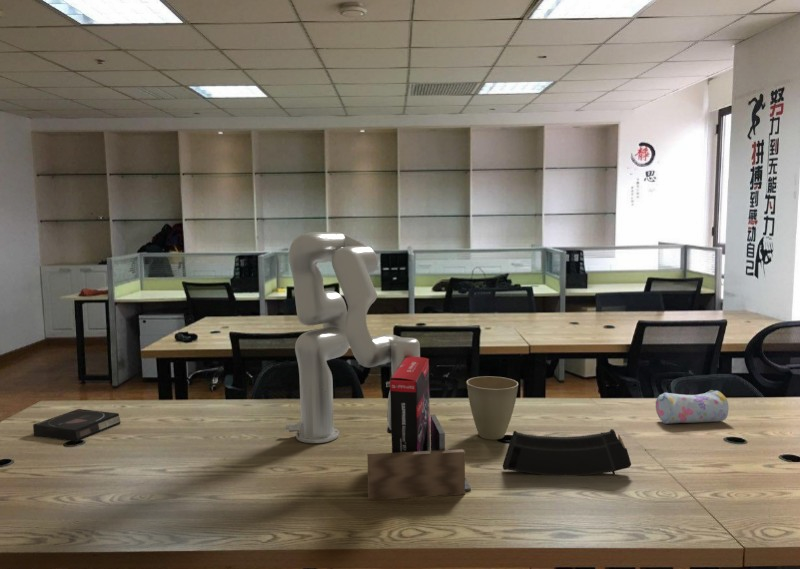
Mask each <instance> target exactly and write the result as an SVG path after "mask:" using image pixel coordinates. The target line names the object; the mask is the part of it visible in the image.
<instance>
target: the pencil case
mask: <svg viewBox="0 0 800 569" xmlns="http://www.w3.org/2000/svg"><path fill="white" fill-rule="evenodd" d="M655 410H656V415H657V417H658V419H659V420H660V421H661V422H662V423H663V424H664V425H667V424H668V425H671V424H678V423H683V424H684V423H685V424H686V423H688V424H689V423H690V424H691V423H694V424H695V423H708V422H716V423H717V422H723V421H725V420H726V419H727V418H728V415H729V402H728V399H727V397H726V396H725V395H724V394H723V393H722V392H721V391H720V390H713V389H710V390H709V391H707V392H705V393H699V394H680V393H673V392H663V393H661V394H659V396H658V397H657V398H656V400H655Z"/></svg>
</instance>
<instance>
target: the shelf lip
mask: <svg viewBox="0 0 800 569" xmlns="http://www.w3.org/2000/svg"><path fill="white" fill-rule="evenodd" d="M465 478H466V452H465V449H462V448H461V449H448V450H447V449H445V450H440V451H431V450H430V451H419V452H399V453H392V452H383V453H382V452H381V453H380V452H379V453H367V496H368V498H367V499H368V501H369V500H370V501H374V500H387V499H389V500H391V499H408V498H410V499H411V498H423V497H439V496H438V495H447V496H462V495H461V494H464V495H466V491H465ZM459 494H460V495H459Z"/></svg>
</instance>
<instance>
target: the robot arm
mask: <svg viewBox="0 0 800 569" xmlns="http://www.w3.org/2000/svg"><path fill="white" fill-rule="evenodd" d="M378 259H379V258H378V256H377V253H376V252H375V250H374V249H373V248H371V247H370V246H369V245H367V244H365V243H364V242H361V241H359V240H357V239H355V238H353V237H352V236H349V235H348V234H346V233H343V232H337V231H327V232H326V231H310V232H306V233H303V234H300V235H298V236H297V237H295V238H294V240H292V243H291V244H290V246H289V249H288V261H289V267H290V271H291V275H292V281H293V291H294V299H295V307H296V310H295V311H296V315H297V319H298V321H299V323H300V324H302V325H304V326H309V327H310V326H312V327H313V326H316V325H322V328H317V329H313V330H308V331H305V332H303V333H302V334H300V335H299V336H298V338H297V339H296V342H295V344H294V345H295V346H294V352H295V356H296V360H297V365H298V374H299V375H298V376H299V398H300V399H299V400H300V402H299V403H300V405H299V406H300V420H299V421H297V422H296V423H290V422H288V423H285V431H288V432H289V433H294V432H296V433H295V439H296V440H297V441H299V442H302V443H305V444H321V443H328V442H331V441H334V440H336V439H338V437H339V436H340V431H339V429H338V428H336V427H334V422H335V421H334V388H333V386H334V385H333V383H334V382H333V374H332V371H331V369H330V367H329V365H328V362H327V361H330V360H333V359H336V358H337V359H338V358H340V357H342V356H344V355H345V354H347V352H348V351H349V348H350V350H351V352H352V354H353V357H354V358H355V359H356V362H357V363H358V364H359V365H361V366H363V367H364V368H373V367H378V366H380V365H383V364H387V363H391V365H390V366H391V376H392V375H393V373H394V372H395V370H396V369H397V367H398V366H399V365H400V363H401V362H402V360H403V359H404V357H405V356H412V357H421V344H420V341H419V340H418V339H417V338H415V337H402V336H398V335H396V334H390V333H386V334H381V335H376V336H371V334H370V331H369V328H368V323H367V315H368V311H369V309H370V307H371V306H372V304H374V303H375V301H376V300H377V298H378V293H377V290H376V288H375V286H374V284H373V281H372V279H371V275H372V274H373V273H375V272H376V271H377V269H378V265H379V260H378ZM321 262H322V263H323V262H331V266H332V269H333V271H334V274H335V277H336V279H337V281H338V284H339V286H340V288H341V292H342V294H343V296H342V295H341V294H340V293H338V291H334V290H325V288H324V279H323V274H322V272H321V270H320V269H319V267H318V265H316V264H317V263H321ZM343 297H344V298H343ZM345 301H346V302H345ZM346 304H347V305H346ZM385 384H386V386H385V387H386V388H390V380H389V381H386V382H385ZM388 392H389V393H388V399H387V411H386V412H387V415H386V416H387V417H386V418H387V425H386V432H387V433H388V434H390V435H391V397H390V391H388Z"/></svg>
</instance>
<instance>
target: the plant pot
mask: <svg viewBox="0 0 800 569" xmlns="http://www.w3.org/2000/svg"><path fill="white" fill-rule="evenodd" d="M466 389H467V396H468V402H469V407H470V410H471V415H472V419H473V422H474V425H475V429H476V431H477V434H478V437H479V438H482V439H486V440H490V441H491V440H493V441H494V440H501V439H504V437H505V436H506V433H507V430H508V428H509V425H510V422H511V419H512V416H513V412H514V408H515V404H516V400H517V395H518V390H519V382H518V381H516V380H515V379H512V378H508V377H502V376H488V375H487V376H486V375H485V376H476V377H471V378H468V379H467V380H466Z"/></svg>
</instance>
